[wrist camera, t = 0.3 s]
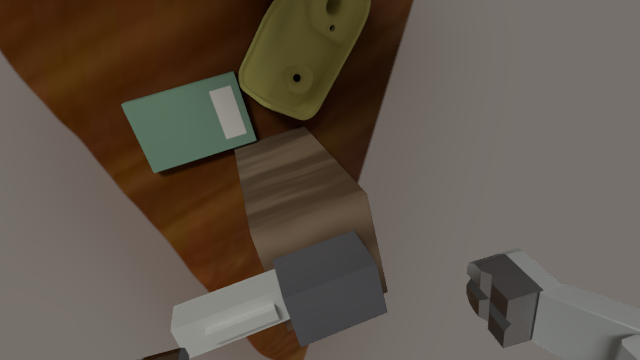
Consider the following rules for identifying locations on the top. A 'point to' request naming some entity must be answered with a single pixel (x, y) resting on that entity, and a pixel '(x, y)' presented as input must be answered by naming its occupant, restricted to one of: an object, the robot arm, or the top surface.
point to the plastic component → (301, 53)
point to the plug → (288, 298)
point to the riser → (300, 198)
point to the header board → (190, 121)
